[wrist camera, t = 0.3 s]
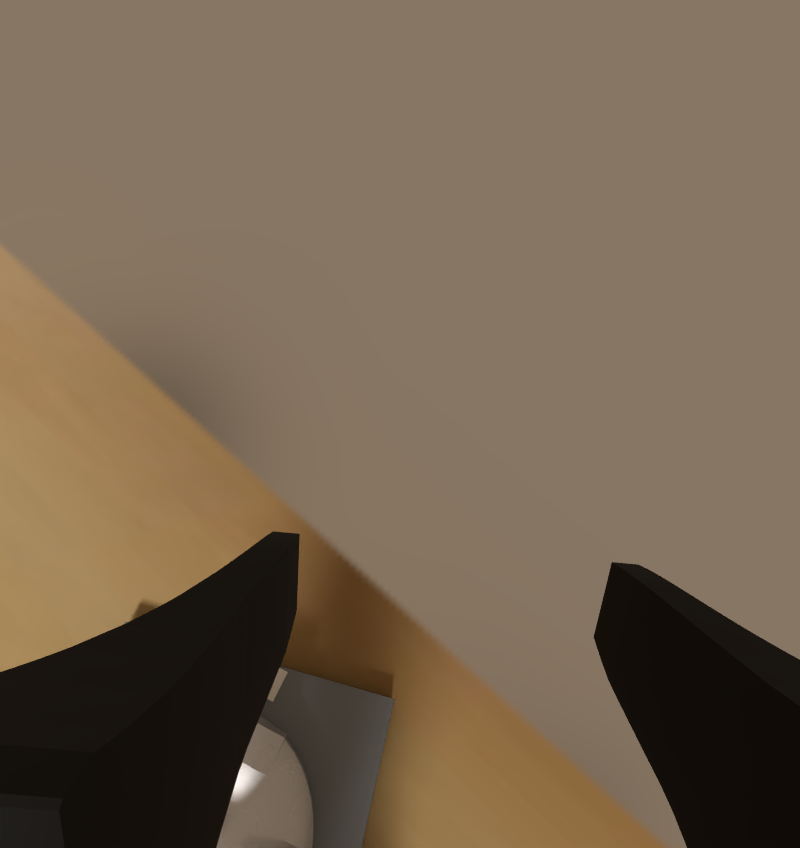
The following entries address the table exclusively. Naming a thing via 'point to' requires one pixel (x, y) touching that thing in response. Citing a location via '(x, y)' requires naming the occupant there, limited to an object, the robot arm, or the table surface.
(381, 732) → the slate plate
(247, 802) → the silver lugged disc
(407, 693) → the table surface
